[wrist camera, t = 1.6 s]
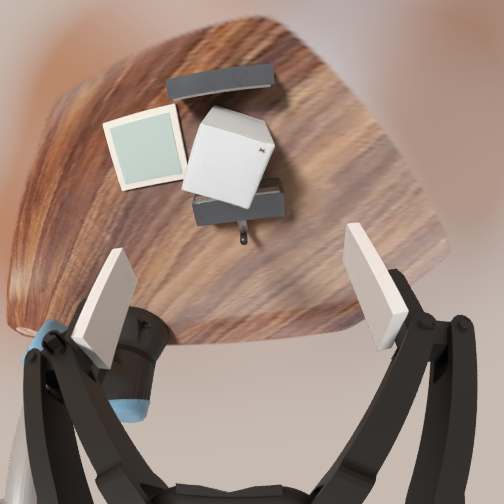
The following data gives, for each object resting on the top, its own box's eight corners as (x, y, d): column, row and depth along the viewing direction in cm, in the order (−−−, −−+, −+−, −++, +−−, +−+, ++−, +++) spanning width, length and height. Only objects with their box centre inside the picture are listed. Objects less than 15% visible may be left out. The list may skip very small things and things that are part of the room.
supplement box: (213, 103, 32) (200, 119, 22) (266, 121, 34) (278, 145, 24) (196, 152, 36) (179, 190, 26) (246, 168, 38) (249, 211, 28)
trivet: (123, 189, 39) (122, 191, 38) (104, 122, 32) (102, 124, 32) (190, 176, 38) (189, 178, 38) (175, 103, 32) (174, 103, 31)
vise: (206, 230, 44) (203, 249, 40) (175, 78, 30) (165, 79, 26) (281, 221, 44) (286, 240, 40) (268, 64, 29) (272, 63, 25)
